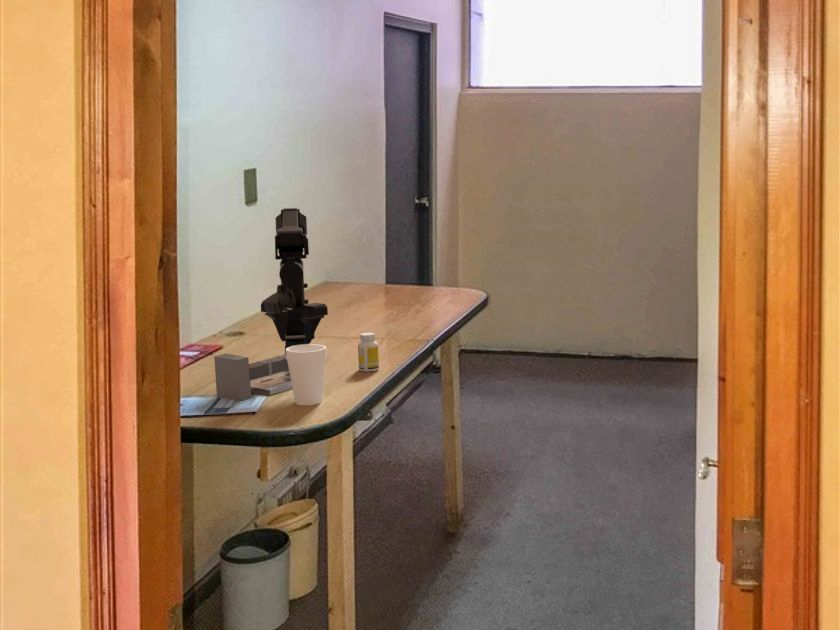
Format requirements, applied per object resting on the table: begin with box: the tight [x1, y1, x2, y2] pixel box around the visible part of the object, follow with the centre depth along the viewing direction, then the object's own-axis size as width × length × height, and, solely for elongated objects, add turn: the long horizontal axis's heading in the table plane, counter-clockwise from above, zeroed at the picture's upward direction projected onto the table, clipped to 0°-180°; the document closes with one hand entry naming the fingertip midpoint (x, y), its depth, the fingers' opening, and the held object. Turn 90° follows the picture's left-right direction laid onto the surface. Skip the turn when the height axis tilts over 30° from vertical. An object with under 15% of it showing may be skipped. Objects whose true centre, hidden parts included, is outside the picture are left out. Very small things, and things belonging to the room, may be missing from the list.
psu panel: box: [250, 370, 293, 396], centre depth 265 cm, size 18×13×2 cm
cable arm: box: [249, 353, 289, 394], centre depth 263 cm, size 22×4×7 cm, turn 143°
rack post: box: [213, 353, 252, 402], centre depth 252 cm, size 4×8×10 cm, turn 53°
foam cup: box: [286, 343, 328, 406], centre depth 246 cm, size 10×9×13 cm
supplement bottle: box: [357, 332, 380, 373], centre depth 277 cm, size 5×5×10 cm
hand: (295, 341), depth 264 cm, fingers open, 9 cm apart
